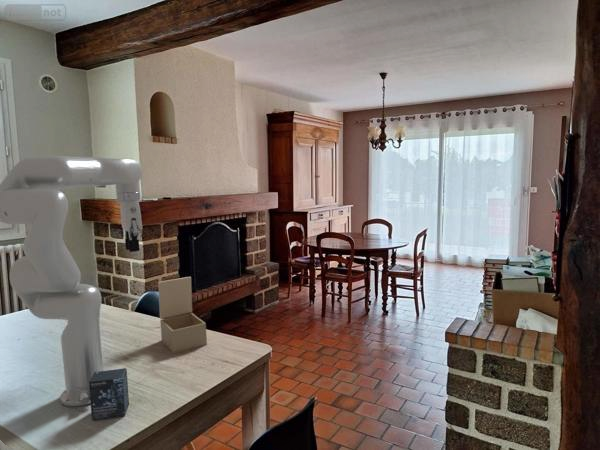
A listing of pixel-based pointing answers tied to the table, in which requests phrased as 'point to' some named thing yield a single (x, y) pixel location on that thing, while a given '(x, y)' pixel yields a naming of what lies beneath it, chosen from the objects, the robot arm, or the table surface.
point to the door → (175, 297)
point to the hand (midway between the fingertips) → (132, 249)
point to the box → (109, 394)
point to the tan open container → (183, 332)
